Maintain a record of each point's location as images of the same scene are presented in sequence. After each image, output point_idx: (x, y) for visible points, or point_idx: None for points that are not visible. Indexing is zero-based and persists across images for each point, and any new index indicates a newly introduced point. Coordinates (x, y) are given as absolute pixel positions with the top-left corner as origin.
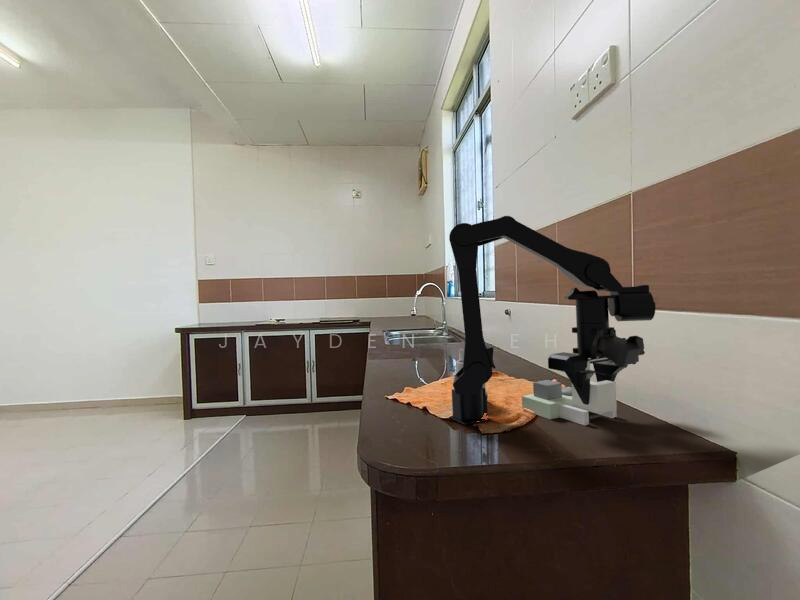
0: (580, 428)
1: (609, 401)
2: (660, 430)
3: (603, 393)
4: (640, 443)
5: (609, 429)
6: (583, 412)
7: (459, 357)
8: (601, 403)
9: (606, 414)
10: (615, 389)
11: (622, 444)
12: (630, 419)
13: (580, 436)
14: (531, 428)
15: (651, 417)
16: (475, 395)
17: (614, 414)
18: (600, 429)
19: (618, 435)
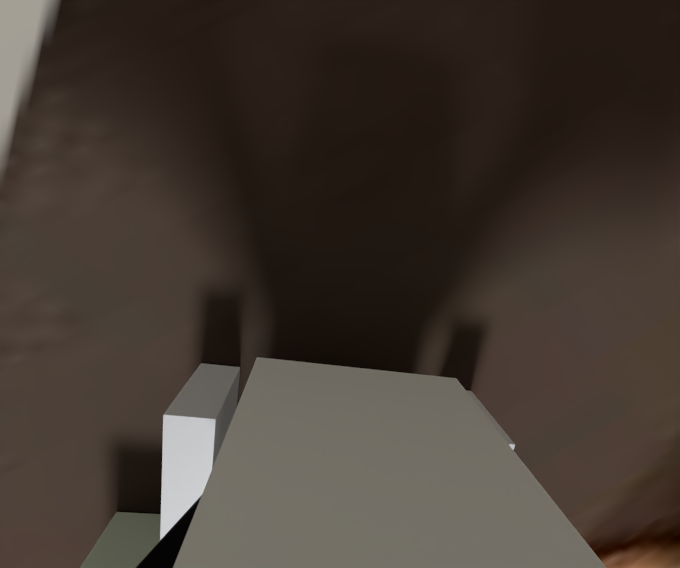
0: (526, 377)
1: (338, 414)
2: (231, 43)
3: (456, 504)
4: (564, 22)
5: (442, 274)
6: (512, 445)
7: None
8: (452, 422)
9: (233, 412)
10: (204, 508)
11: (640, 93)
12: (170, 290)
13: (642, 310)
14: (661, 503)
15: (7, 222)
16: None
17: (215, 375)
18: (475, 305)
19: (508, 187)
